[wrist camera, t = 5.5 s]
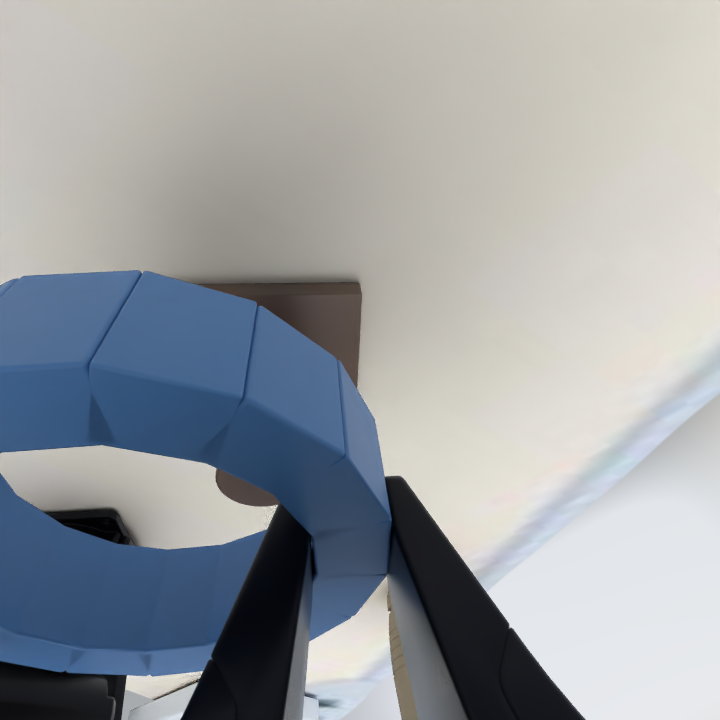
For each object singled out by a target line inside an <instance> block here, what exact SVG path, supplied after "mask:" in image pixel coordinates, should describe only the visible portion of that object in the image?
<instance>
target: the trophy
mask: <svg viewBox="0 0 720 720" xmlns="http://www.w3.org/2000/svg"><path fill="white" fill-rule="evenodd" d="M197 684H198V682H197V683H195V684H192V685H190V686H188V687H185V688H183V689H181V690H178V691H176V692H173V693H171V694H169V695H166V696H164V697H162V698H159V699H157V700H154V701H152V702H150V703H147V704H145V705H143V706H140V707H138V708H135V709H133V710H131V711H130V714H129V717H128V720H180V719H181V717H182V715H183V713H184V711H185V709H186V707H187V705H188V703H189V701H190V699H191V697H192V695H193V692H194V690H195V688H196V686H197ZM302 720H319V703H318V700H317V699H313V698H310V697H306V696H304V706H303V718H302Z"/></svg>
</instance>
